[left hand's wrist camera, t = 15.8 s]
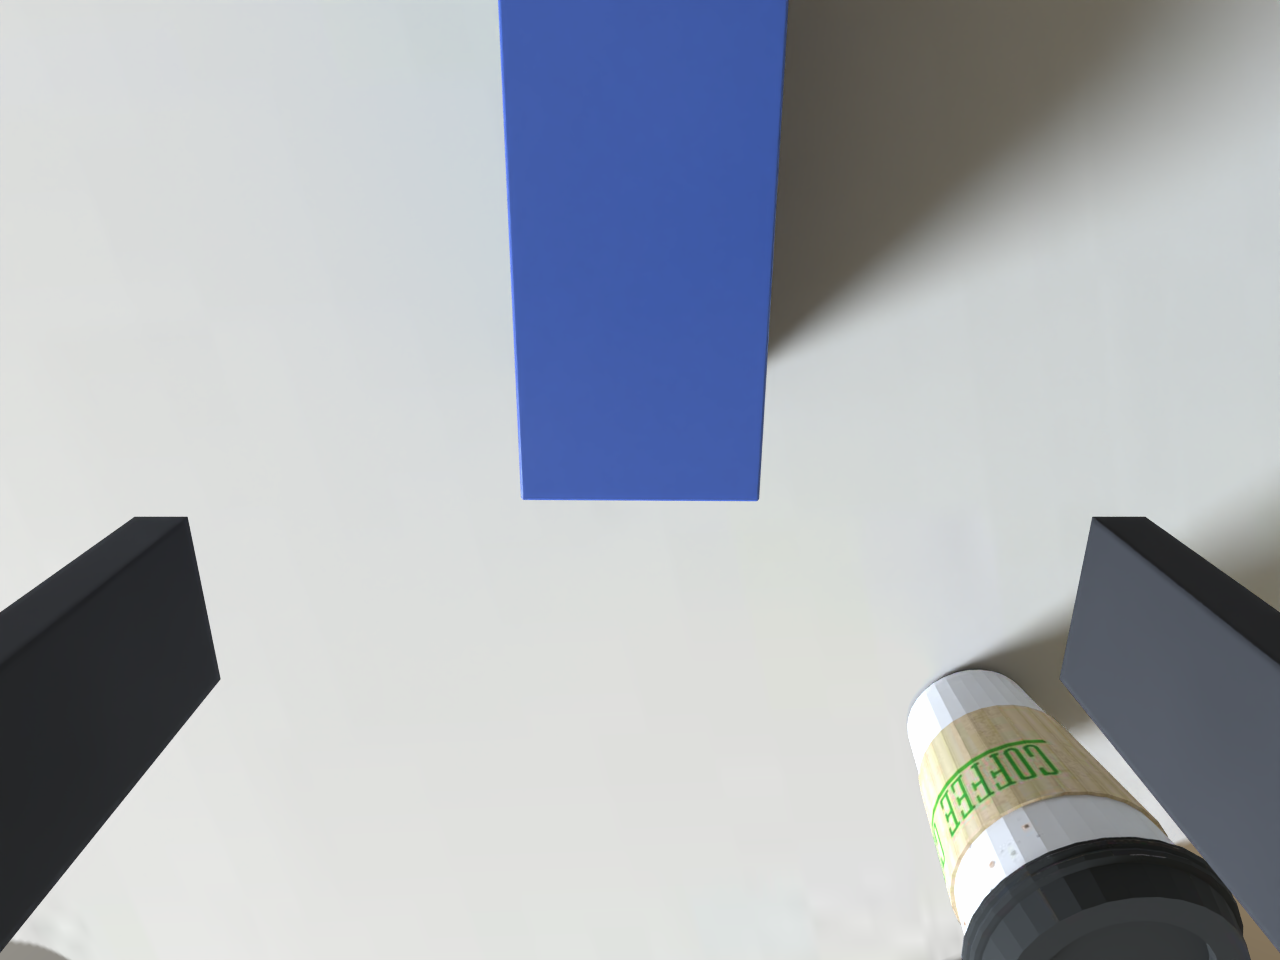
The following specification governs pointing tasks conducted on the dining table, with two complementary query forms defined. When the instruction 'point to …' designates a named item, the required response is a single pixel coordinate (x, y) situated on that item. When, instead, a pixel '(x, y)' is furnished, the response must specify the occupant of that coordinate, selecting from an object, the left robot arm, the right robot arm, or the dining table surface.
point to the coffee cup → (1053, 840)
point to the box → (641, 241)
